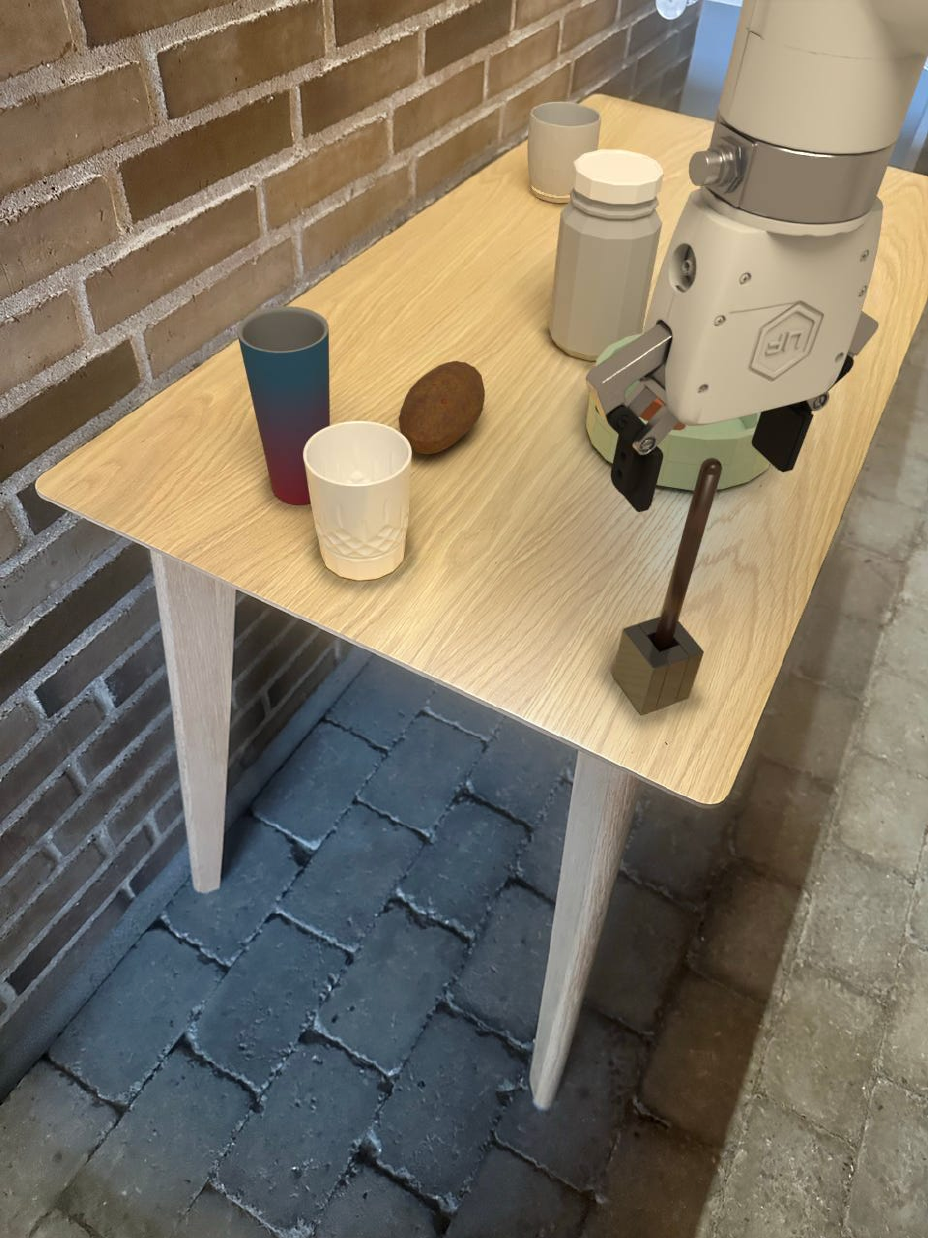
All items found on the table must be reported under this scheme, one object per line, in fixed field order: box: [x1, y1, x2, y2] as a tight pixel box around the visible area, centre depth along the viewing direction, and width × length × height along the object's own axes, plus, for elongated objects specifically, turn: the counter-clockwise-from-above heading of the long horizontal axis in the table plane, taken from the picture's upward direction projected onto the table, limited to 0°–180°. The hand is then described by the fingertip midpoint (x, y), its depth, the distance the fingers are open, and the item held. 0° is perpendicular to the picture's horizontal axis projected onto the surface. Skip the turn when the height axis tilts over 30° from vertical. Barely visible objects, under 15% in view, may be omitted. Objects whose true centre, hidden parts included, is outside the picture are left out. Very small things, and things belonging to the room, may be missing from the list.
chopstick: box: [653, 458, 722, 652], centre depth 60 cm, size 1×1×20 cm
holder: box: [612, 615, 705, 716], centre depth 65 cm, size 4×4×5 cm
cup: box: [236, 305, 331, 506], centre depth 76 cm, size 7×7×15 cm
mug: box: [526, 101, 602, 204], centre depth 123 cm, size 13×9×10 cm
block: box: [640, 385, 686, 431], centre depth 87 cm, size 4×4×4 cm
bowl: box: [585, 332, 771, 492], centre depth 86 cm, size 18×18×6 cm
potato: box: [398, 360, 486, 455], centre depth 84 cm, size 7×12×7 cm, turn 159°
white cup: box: [303, 420, 413, 582], centre depth 72 cm, size 8×8×10 cm
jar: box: [548, 148, 665, 362], centre depth 93 cm, size 10×10×18 cm
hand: (702, 476), depth 53 cm, fingers open, 9 cm apart
